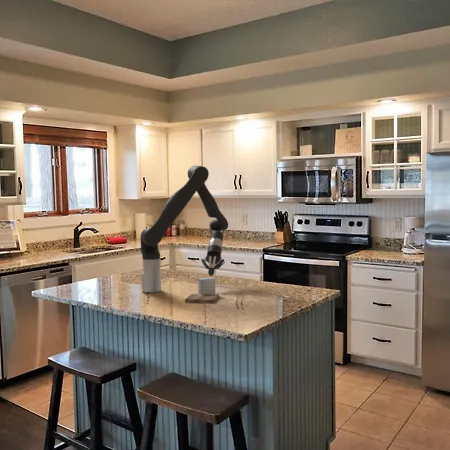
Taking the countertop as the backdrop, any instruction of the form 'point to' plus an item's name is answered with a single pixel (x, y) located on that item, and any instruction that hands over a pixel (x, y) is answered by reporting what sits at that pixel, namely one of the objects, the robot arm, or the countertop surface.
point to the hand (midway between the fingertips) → (210, 275)
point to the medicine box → (206, 286)
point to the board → (202, 298)
